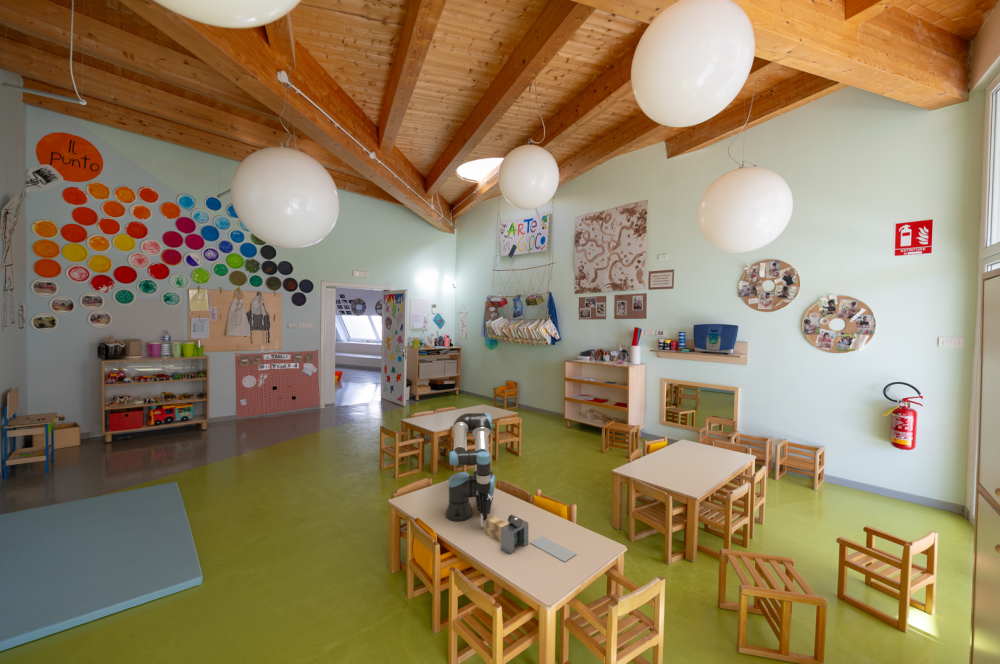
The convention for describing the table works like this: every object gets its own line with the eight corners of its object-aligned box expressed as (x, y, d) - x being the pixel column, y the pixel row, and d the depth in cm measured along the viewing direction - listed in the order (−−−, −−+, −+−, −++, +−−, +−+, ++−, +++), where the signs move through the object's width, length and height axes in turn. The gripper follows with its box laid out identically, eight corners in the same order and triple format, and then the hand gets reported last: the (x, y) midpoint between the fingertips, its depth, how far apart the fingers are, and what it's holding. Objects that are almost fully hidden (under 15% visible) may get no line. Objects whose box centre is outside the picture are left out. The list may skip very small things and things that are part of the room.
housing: (501, 549, 202) (501, 519, 202) (519, 539, 211) (519, 510, 210) (509, 554, 198) (509, 523, 197) (528, 544, 207) (528, 514, 206)
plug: (485, 533, 217) (485, 518, 216) (492, 530, 220) (492, 515, 220) (509, 547, 204) (509, 532, 203) (517, 544, 207) (517, 528, 207)
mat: (529, 543, 207) (529, 542, 207) (541, 536, 214) (541, 535, 214) (564, 562, 191) (564, 561, 191) (576, 554, 198) (576, 553, 198)
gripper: (470, 480, 223) (470, 523, 224) (486, 487, 213) (486, 532, 214) (480, 476, 228) (481, 518, 229) (496, 483, 218) (497, 527, 219)
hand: (483, 525), depth 221 cm, fingers closed
